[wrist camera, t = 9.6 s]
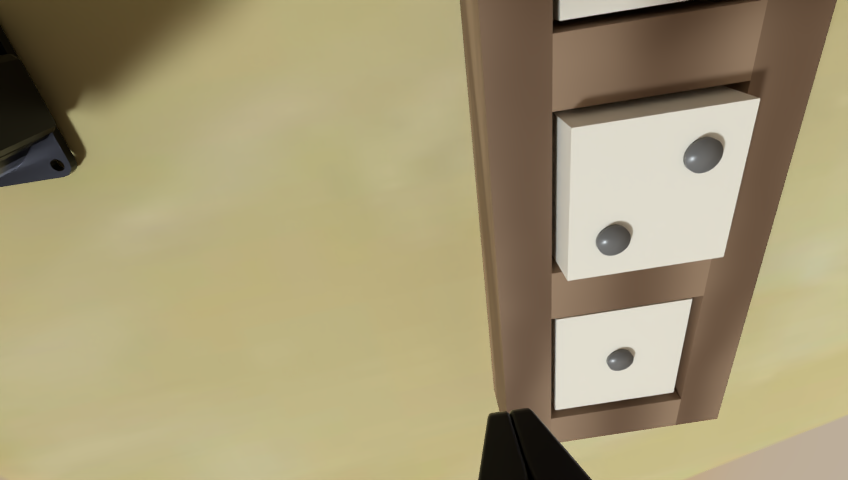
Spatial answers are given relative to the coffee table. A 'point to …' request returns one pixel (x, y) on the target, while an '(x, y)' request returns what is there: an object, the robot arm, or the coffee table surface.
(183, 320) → the coffee table surface
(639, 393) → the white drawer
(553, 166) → the two dot tile
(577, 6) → the three dot tile
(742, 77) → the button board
